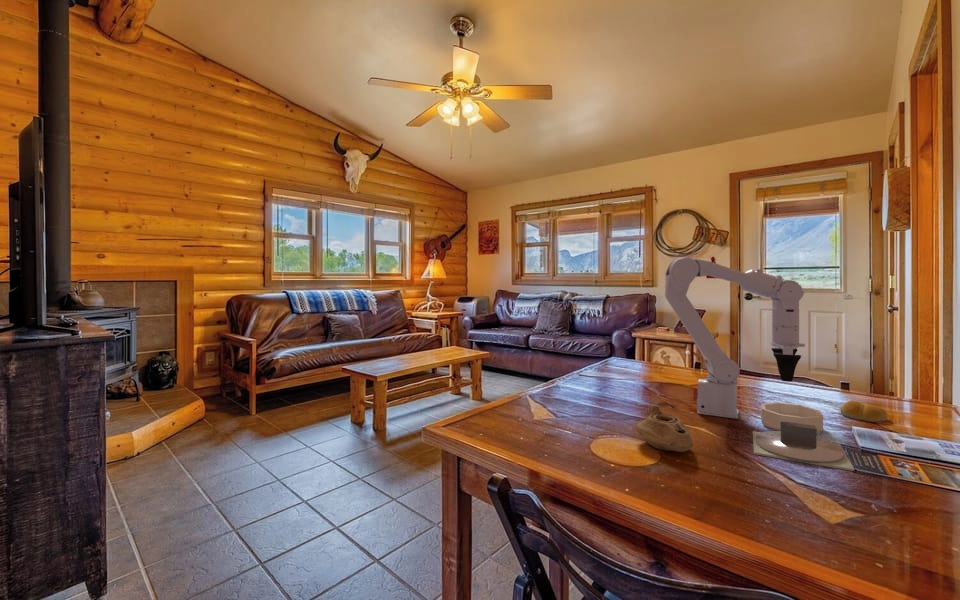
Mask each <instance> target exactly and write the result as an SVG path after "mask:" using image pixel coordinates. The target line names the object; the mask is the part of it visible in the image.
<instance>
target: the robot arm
mask: <svg viewBox="0 0 960 600" xmlns="http://www.w3.org/2000/svg"><path fill="white" fill-rule="evenodd" d="M664 275H665V276H664V277H665V290H664V291H665V292H664V296H665V299H666V300H667V302H668V304H669V305H670V307H671V308H672V310H673V311H674V313H675V315H677V317H678V319H679V321H680V322H681V323H682V325H683V327H684V328H685V330H686V331H687V333H688V335H689V337H690V338H691V339H692V341H693V343H695V345H696V347H697V349H698V350H699V352H700V354H701V357H702V358H703V360H704V365H705V369H706V371H707V372H708V375H707V376H706V378H699V379H698V383H697V399H696V405H697V414H700V415H706V416H714V417H721V418H727V419H736V420H738V419H739V410H740V409H738V407H737V405H738V380H737V379H738V378H739V377H740V371H741V369H740V366H739V364H738V363H737V362H735V360H732V359H731V358H729V357H728V355H727V353H726V352H725V351H724V350H723V349H722V347H721V346H720V345H719V344H718V342H717V340H716V339H715V338H714V336H713V334H712V333H711V331H710V330H709V328H708V327H707V325H706V323H704V321H703V320H702V318H701V316H700V315H699V312H698V311H697V310H696V308H695V307H694V305H693V304H692V302H691V301H690V299H689V298H688V296H687V293H688V291H689V287H690V285H691V284H692V282H693V281H694V280H695V278H698V277H699V278H700V277H707V276H709V277H712V278H715V279H716V278H717V279H721V280H723V281H728V282H732V283H735V284H738V285H739V286H740V288H741V290H742V291H745V292H749V293H751V294H754V295H758V296H762V297H764V298H770V299H771V300H772V304H771V305H772V306H771V307H772V308H771V317H772V318H771V324H772V325H771V333H772V334H771V340H772V341H771V343H770V344H771V351H772V352H773V356H774V358H775V360H776V366H777V370H778V374H779V376H780V380H781V381H782V382H788V383H789V382H791V383H792V382H793V380H794V375H795V371H796V367H797V365H798V363H799V361H800V359H801V358H802V355H801V354H797V352H798V349H799V348H800V347H801V348H803V347H806V344H805V342H800V300H801V299H803V297H804V294H805V291H804V290H803V287H802V286H801V284H799V282H797V281H795V280H792V279H791V280H790V279H783V276H781V275H777V274H776V276H775V275H772V274H768V273H766V272H765V273H764V272H763V269H759V268H755V269H749V270H747V271H745V272H743V271H741V270H737V269H734V268H730V267H728V266H724V265H721V264H718V263H715V262H711V261H708V260H704V259H698V258H691V257H688V256H687V257H685V256H684V257H681V258H677V259H676V258H675V259H674V260H672V261H671V262H670V263H669V264H668V266H667V269H666V271H665V274H664Z"/></svg>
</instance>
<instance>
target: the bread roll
mask: <svg viewBox="0 0 960 600" xmlns="http://www.w3.org/2000/svg"><path fill="white" fill-rule="evenodd" d="M840 414H841V415H842V416H844V417H846V418H849V419H854V420H859V421H860V420H862V421H865V422H869V423H870V422H872V423H882V422H886V421H888V416H889V415H888V413H887V411H886V410H885V409H884V408H883V407H881V406H879V405H875V404H864V403H861V402H859V401H855V400H848V401H846V402H845V403H843V404H842V405H841V407H840Z"/></svg>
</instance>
